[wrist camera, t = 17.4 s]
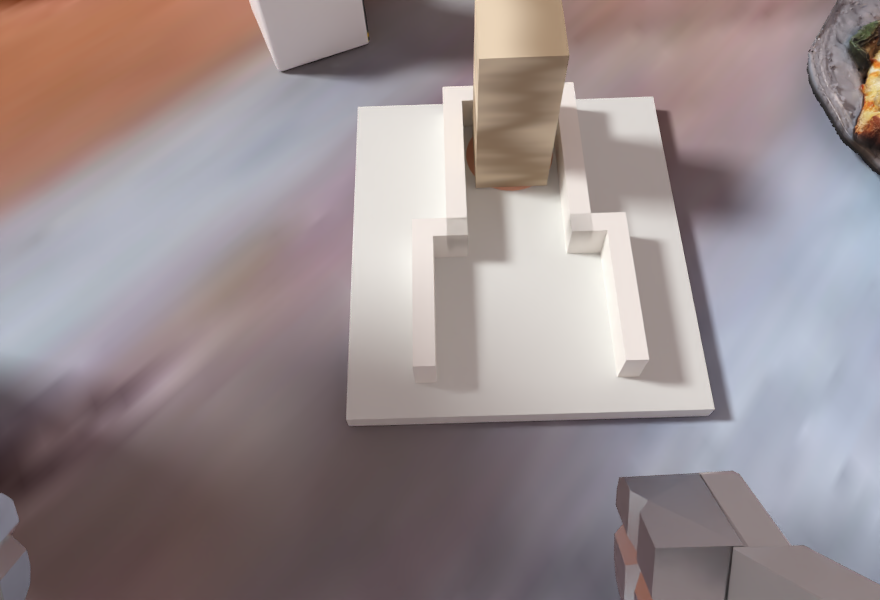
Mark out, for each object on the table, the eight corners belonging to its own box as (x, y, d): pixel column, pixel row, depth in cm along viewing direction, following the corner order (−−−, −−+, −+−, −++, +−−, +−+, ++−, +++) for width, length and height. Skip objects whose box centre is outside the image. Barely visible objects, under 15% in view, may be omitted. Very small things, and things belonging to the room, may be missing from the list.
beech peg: (475, 187, 46) (478, 58, 36) (472, 132, 48) (474, -5, 38) (546, 185, 46) (569, 55, 36) (540, 129, 48) (560, -9, 38)
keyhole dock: (349, 426, 41) (339, 405, 37) (360, 118, 51) (353, 80, 47) (708, 415, 40) (729, 393, 37) (648, 108, 50) (662, 69, 47)
